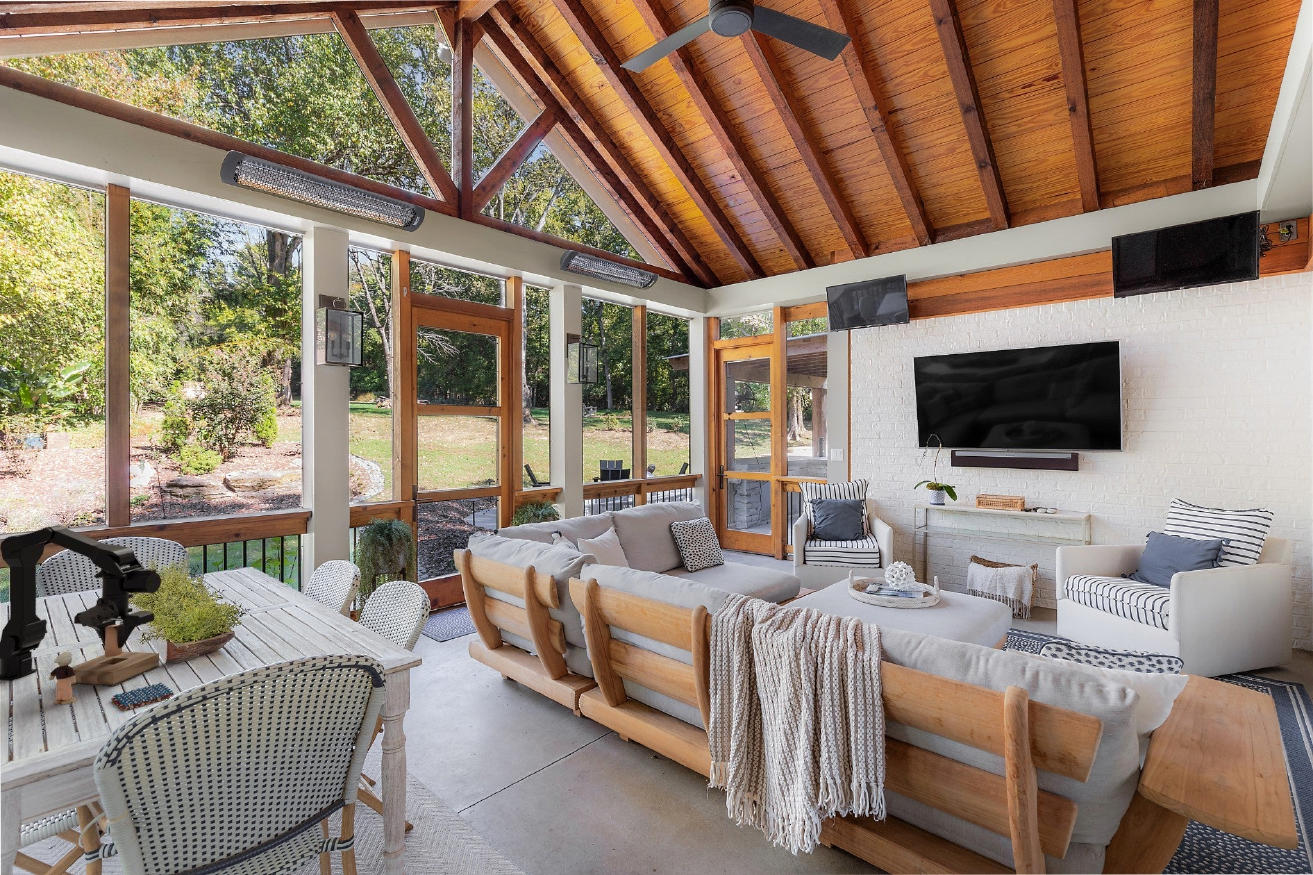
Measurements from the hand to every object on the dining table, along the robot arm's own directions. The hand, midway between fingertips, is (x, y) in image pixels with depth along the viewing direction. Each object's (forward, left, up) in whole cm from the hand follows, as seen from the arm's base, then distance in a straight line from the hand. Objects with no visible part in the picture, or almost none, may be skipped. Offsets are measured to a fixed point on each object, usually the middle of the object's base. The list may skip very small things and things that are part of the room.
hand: (113, 647), depth 167 cm
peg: (0, 0, -2) cm, 2 cm away
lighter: (+9, +13, -8) cm, 18 cm away
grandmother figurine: (+3, -16, -8) cm, 19 cm away
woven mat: (+21, -13, -9) cm, 26 cm away
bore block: (0, 0, -8) cm, 8 cm away
